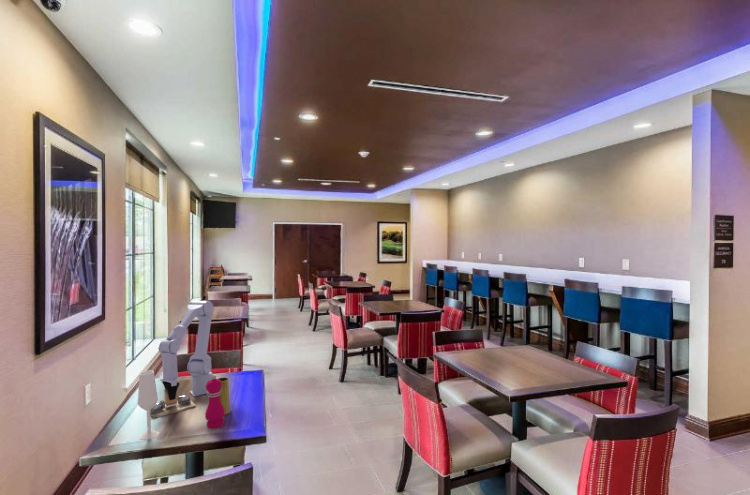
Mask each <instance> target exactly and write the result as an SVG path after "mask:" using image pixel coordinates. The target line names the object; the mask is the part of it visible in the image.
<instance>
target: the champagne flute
mask: <svg viewBox="0 0 750 495" xmlns="http://www.w3.org/2000/svg"><path fill="white" fill-rule="evenodd" d="M138 378H139V380H138V394H137V405H138V406H139V407H140V409H142V410H144V411H146V427H147V430H146V431H145V432H143V433H142V434H141V435H140V436H139V439H140V440H144V441H147V440H151V439H154V438H156V437H158V436H159V435H160V432H159V431H157V430H153V429H152V424H151V422H152V421H151V420H152V418H151V415H150V410H151V409H152V408H153V407H154V406H155V405H156V403H158V401H159V397H158V391H157V384H156V377H155V370H143V371H141V372H140V373H139V376H138Z"/></svg>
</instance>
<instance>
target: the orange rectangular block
mask: <svg viewBox="0 0 750 495" xmlns="http://www.w3.org/2000/svg"><path fill="white" fill-rule="evenodd" d="M163 391H164V402H165V404H166V406H169V405H173V404H177V396H178V394H177V393H178V391H177V392H176V397H175V399H174V400H170V399H169V396H168V391H167V389H165V388H164V389H163Z"/></svg>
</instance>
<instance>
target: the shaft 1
mask: <svg viewBox="0 0 750 495" xmlns="http://www.w3.org/2000/svg"><path fill="white" fill-rule="evenodd" d="M163 409H165V400H159V402H157V403H156V405H155V406H154V407H153V408H152V409H151V410H150V413H152V414H157V413H160V412H163Z"/></svg>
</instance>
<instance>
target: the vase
mask: <svg viewBox="0 0 750 495" xmlns="http://www.w3.org/2000/svg"><path fill="white" fill-rule="evenodd" d="M217 379H219V380H221V382H222V388H221V389H220V390H221V395H220V401H221V404H222V406H223V408H224V410H225V415H224V416H227V415H230V413H231V402H230V399H231V398H230V387H229V386H230V385H229V378H228V377H217Z"/></svg>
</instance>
